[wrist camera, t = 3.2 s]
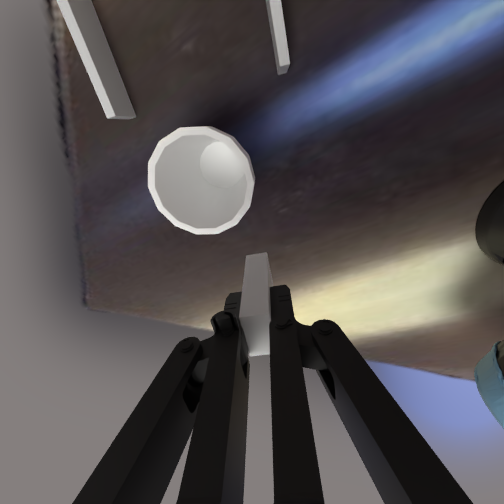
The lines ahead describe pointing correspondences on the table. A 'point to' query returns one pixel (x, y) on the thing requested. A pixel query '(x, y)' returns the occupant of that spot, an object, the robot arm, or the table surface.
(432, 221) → the table surface
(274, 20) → the box
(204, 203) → the foam cup
